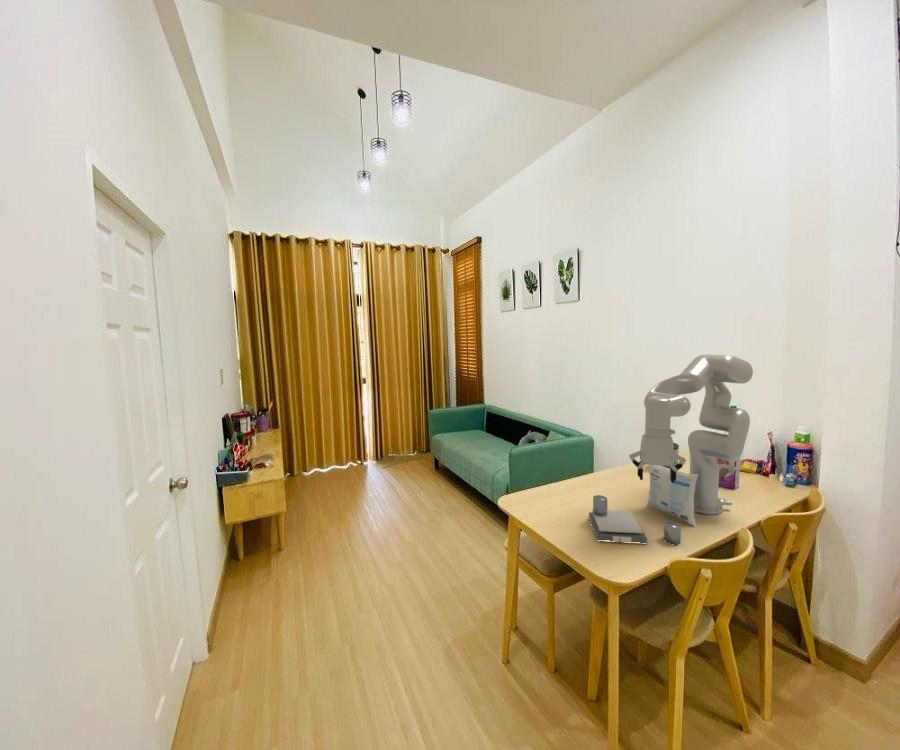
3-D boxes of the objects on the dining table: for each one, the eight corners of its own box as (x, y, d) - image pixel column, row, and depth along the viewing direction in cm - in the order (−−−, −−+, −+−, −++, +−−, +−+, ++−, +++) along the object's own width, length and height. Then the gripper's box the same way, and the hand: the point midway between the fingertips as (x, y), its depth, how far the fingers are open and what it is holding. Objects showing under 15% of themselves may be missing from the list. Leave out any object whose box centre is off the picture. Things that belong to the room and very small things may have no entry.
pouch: (687, 530, 133) (689, 477, 130) (641, 508, 150) (642, 460, 148) (701, 524, 136) (703, 472, 133) (654, 503, 153) (655, 457, 151)
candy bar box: (706, 482, 170) (707, 448, 168) (710, 479, 173) (711, 446, 171) (735, 490, 161) (736, 454, 159) (739, 487, 164) (741, 451, 162)
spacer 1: (605, 510, 141) (605, 495, 141) (608, 516, 136) (608, 501, 136) (592, 509, 142) (591, 495, 142) (594, 516, 137) (594, 501, 137)
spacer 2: (676, 537, 128) (677, 521, 128) (683, 545, 124) (683, 529, 123) (661, 536, 129) (661, 520, 129) (666, 544, 125) (667, 528, 124)
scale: (632, 520, 141) (632, 510, 140) (647, 545, 125) (647, 534, 124) (588, 518, 144) (588, 508, 143) (597, 542, 128) (597, 531, 127)
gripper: (683, 431, 127) (682, 478, 129) (628, 428, 133) (628, 473, 135) (689, 437, 120) (687, 487, 122) (630, 434, 126) (630, 481, 128)
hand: (656, 480), depth 129 cm, fingers open, 9 cm apart
